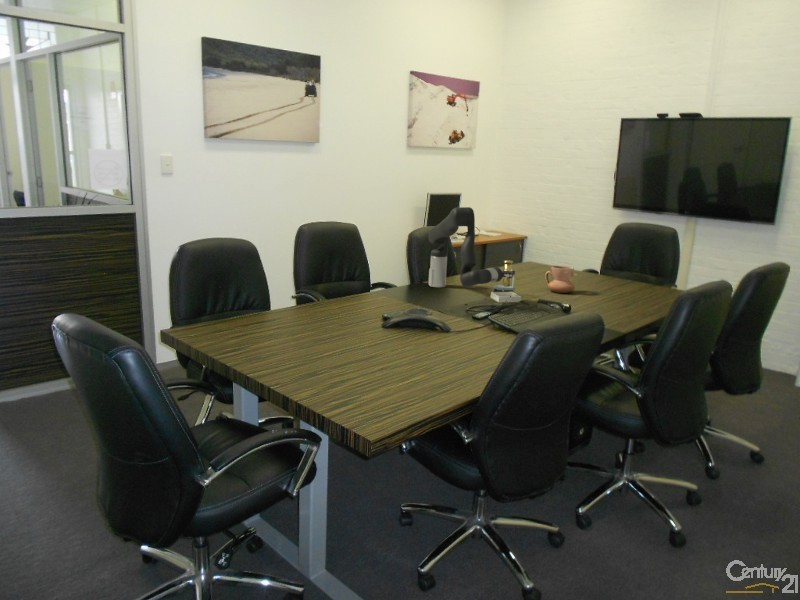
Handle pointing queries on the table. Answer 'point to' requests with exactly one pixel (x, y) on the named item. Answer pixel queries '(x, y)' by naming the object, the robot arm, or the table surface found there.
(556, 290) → the ceramic jug
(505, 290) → the trolley
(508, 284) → the stop pin
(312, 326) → the table surface
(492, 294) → the tray
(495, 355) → the table surface
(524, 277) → the table surface
